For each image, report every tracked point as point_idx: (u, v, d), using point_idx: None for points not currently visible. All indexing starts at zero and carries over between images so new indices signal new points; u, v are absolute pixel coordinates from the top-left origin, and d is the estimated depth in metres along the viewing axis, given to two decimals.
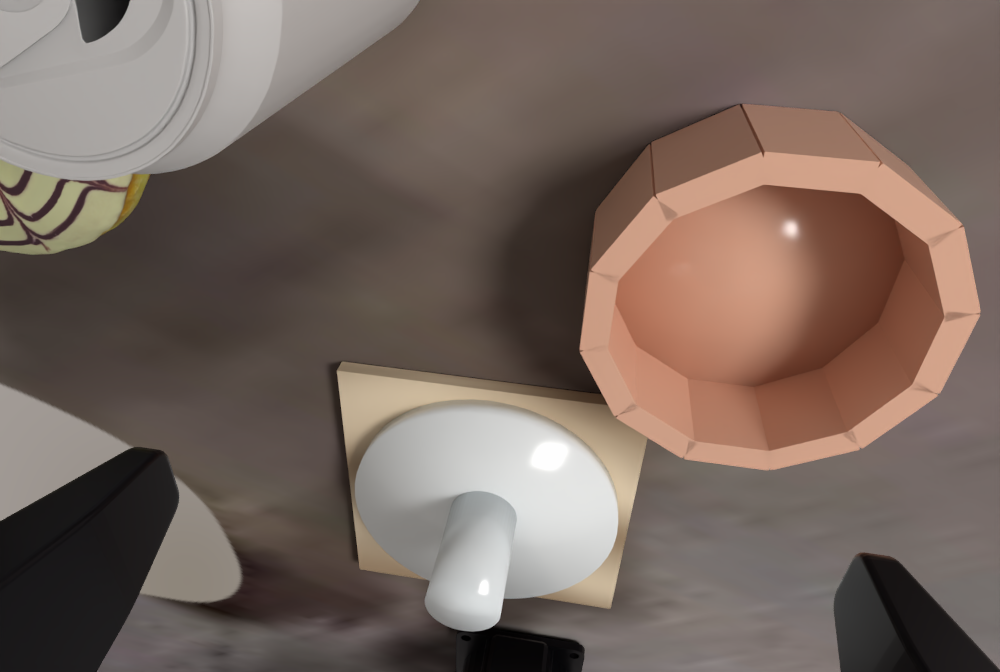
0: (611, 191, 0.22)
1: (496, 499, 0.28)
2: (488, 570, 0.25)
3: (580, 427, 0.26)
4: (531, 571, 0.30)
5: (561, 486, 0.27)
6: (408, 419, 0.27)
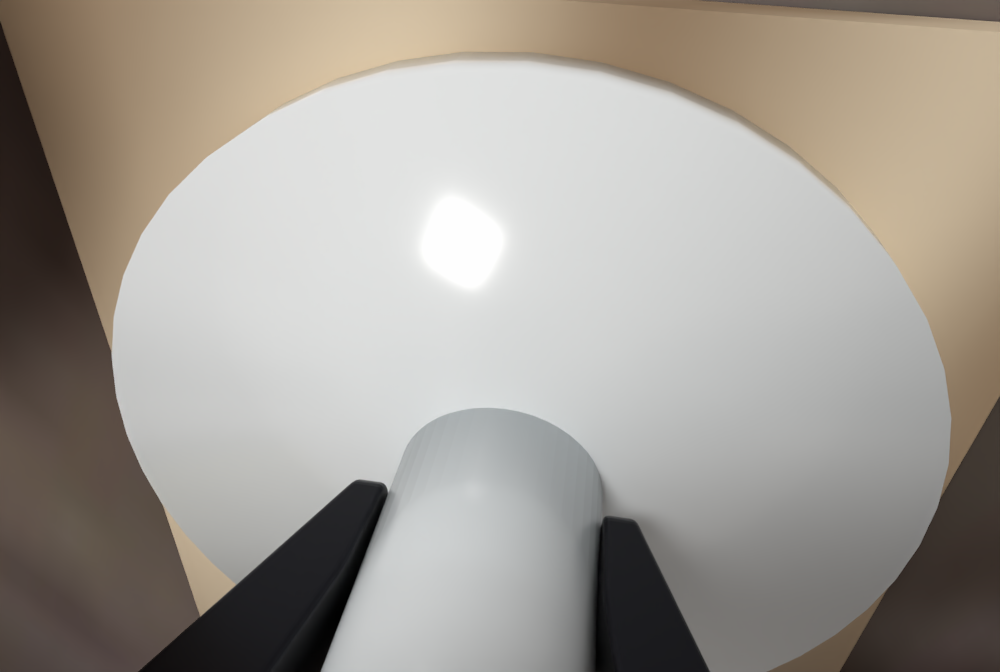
0: None
1: (402, 457, 0.09)
2: None
3: (145, 192, 0.09)
4: (778, 389, 0.08)
5: (314, 276, 0.08)
6: (232, 566, 0.12)
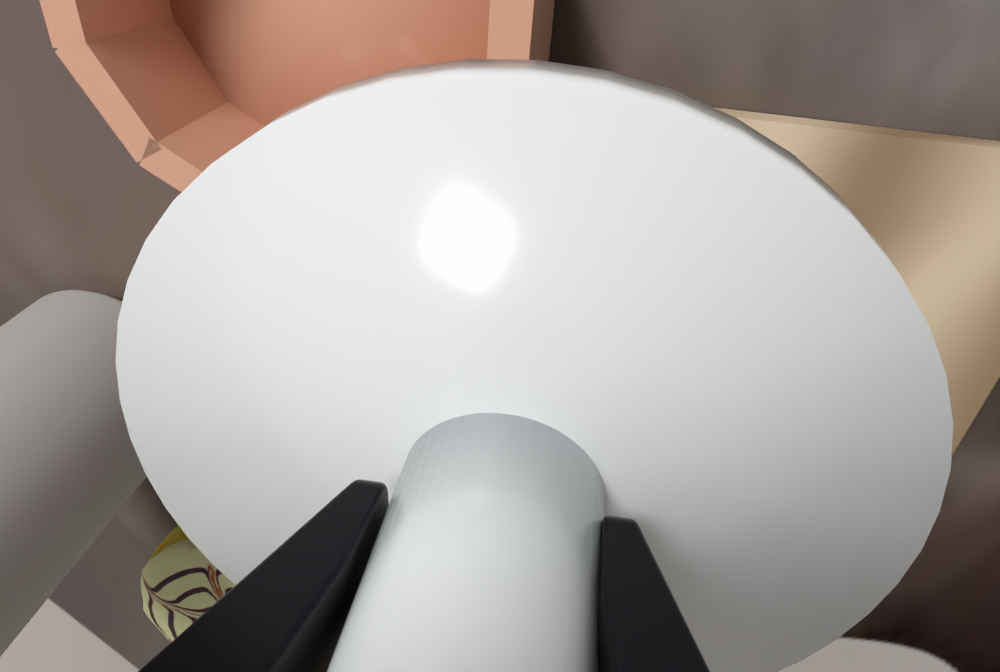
0: None
1: (405, 461, 0.09)
2: None
3: None
4: (781, 395, 0.08)
5: (317, 282, 0.08)
6: (235, 569, 0.12)
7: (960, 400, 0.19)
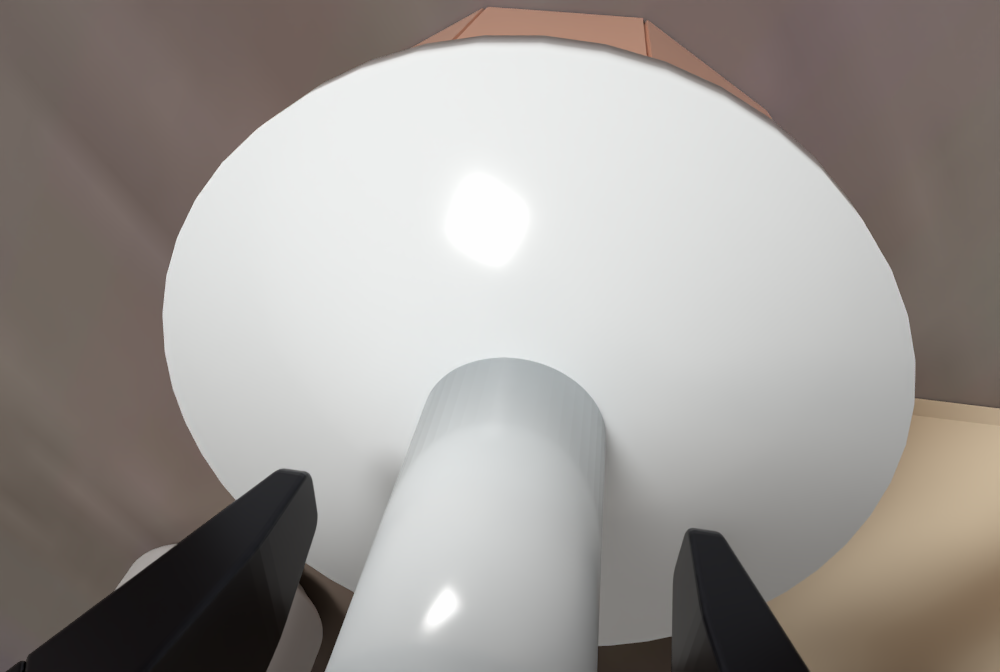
0: None
1: (425, 404, 0.10)
2: (362, 587, 0.07)
3: None
4: (762, 336, 0.09)
5: (349, 236, 0.09)
6: None
7: None
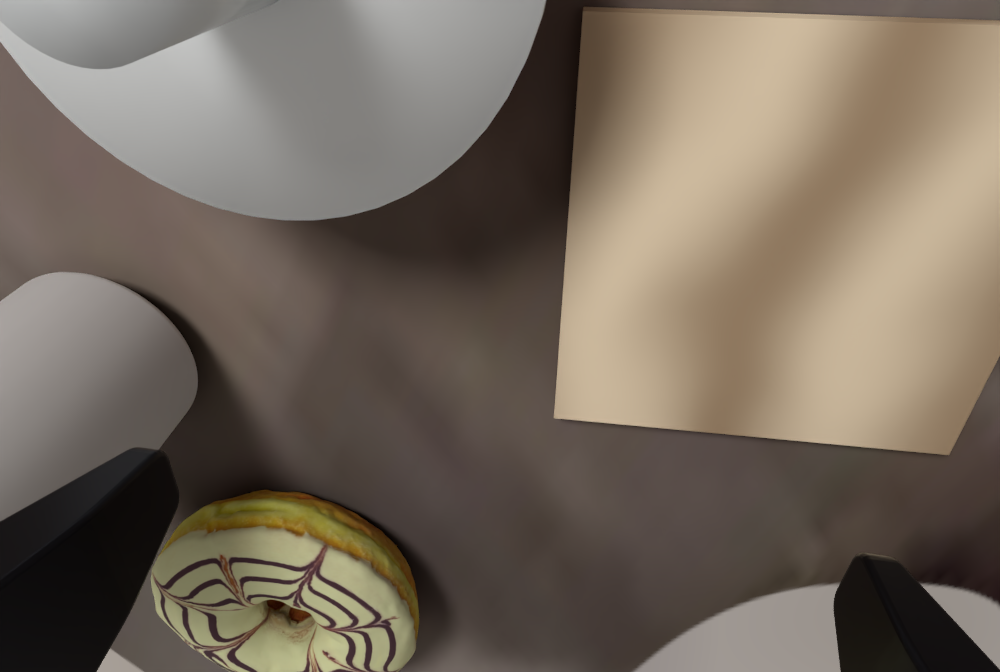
0: None
1: None
2: None
3: (626, 126, 0.17)
4: None
5: None
6: (51, 91, 0.14)
7: (997, 311, 0.18)
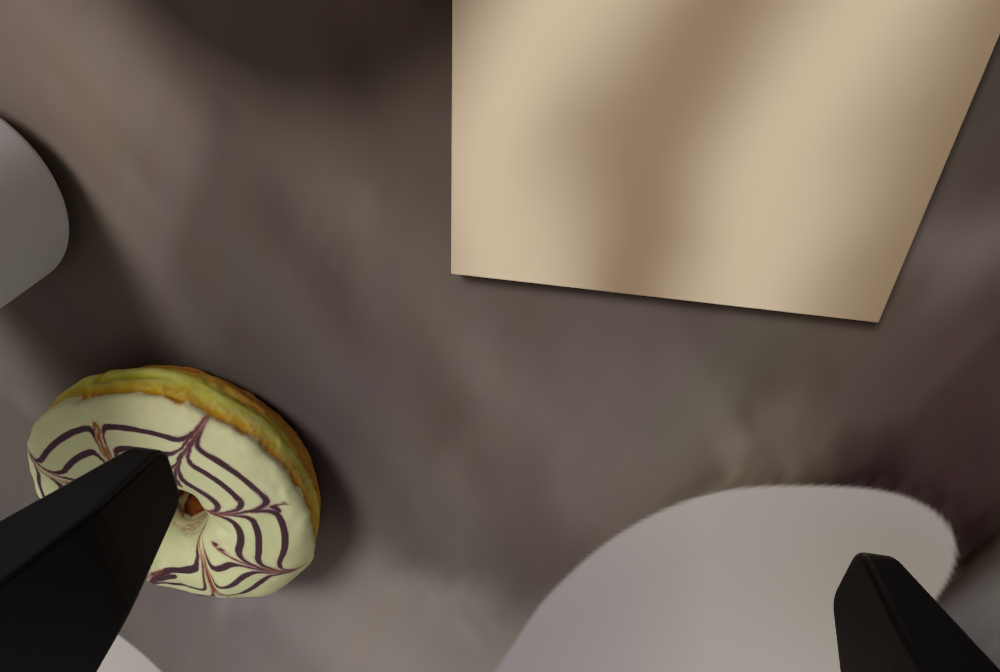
0: None
1: None
2: None
3: None
4: None
5: None
6: None
7: (928, 138, 0.16)
